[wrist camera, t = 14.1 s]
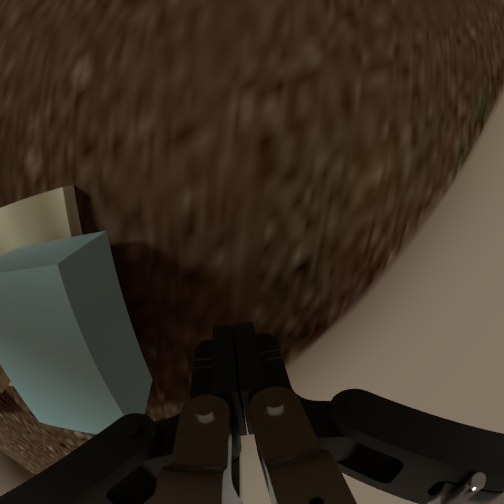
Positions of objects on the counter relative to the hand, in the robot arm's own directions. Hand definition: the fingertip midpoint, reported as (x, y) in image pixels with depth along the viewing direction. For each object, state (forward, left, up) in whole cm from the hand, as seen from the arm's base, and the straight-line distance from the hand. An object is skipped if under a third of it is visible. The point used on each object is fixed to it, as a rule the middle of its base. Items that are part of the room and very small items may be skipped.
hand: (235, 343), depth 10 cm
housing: (-9, 0, -3) cm, 9 cm away
